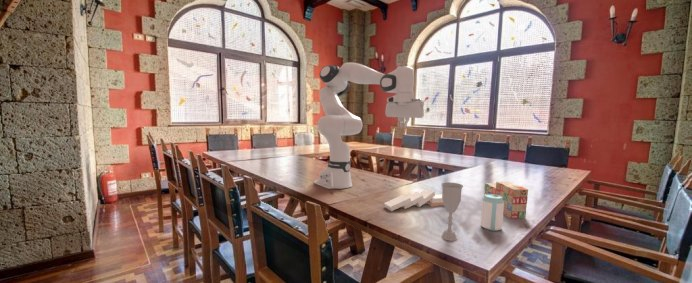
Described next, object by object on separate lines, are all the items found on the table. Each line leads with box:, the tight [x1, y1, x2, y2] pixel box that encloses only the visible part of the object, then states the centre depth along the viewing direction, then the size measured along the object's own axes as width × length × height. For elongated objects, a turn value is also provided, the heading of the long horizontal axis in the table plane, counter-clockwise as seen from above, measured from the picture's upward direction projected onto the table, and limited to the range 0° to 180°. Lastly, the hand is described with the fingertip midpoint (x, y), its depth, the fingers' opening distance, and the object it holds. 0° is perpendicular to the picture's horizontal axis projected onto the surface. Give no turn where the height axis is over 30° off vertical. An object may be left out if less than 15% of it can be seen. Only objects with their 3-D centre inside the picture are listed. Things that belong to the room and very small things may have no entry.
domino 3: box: [413, 189, 436, 208], centre depth 133 cm, size 2×6×10 cm
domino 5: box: [425, 201, 444, 207], centre depth 136 cm, size 2×6×10 cm
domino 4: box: [429, 193, 443, 203], centre depth 136 cm, size 2×6×10 cm
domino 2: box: [401, 191, 424, 210], centre depth 131 cm, size 2×6×10 cm
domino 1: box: [384, 194, 411, 212], centre depth 128 cm, size 2×6×10 cm
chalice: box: [440, 182, 464, 242], centre depth 98 cm, size 7×7×18 cm
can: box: [480, 193, 504, 232], centre depth 108 cm, size 7×7×12 cm
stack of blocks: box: [483, 181, 529, 219], centre depth 128 cm, size 21×6×12 cm, turn 3°
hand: (403, 126), depth 149 cm, fingers closed
